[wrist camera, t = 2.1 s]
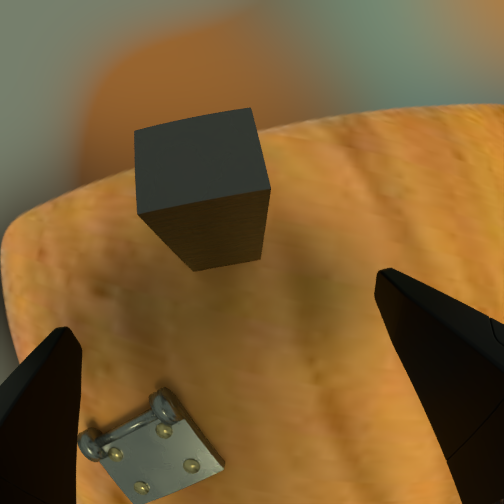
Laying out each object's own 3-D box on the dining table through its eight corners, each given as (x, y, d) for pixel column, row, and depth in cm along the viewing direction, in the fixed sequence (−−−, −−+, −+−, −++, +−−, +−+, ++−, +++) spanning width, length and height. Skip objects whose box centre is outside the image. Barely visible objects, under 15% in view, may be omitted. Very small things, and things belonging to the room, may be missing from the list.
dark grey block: (260, 259, 21) (270, 188, 10) (193, 271, 21) (137, 214, 10) (250, 210, 22) (250, 107, 11) (186, 222, 22) (134, 131, 11)
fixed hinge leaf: (225, 462, 18) (222, 477, 15) (140, 499, 17) (130, 514, 14) (167, 384, 19) (157, 390, 17) (87, 428, 18) (71, 437, 16)
